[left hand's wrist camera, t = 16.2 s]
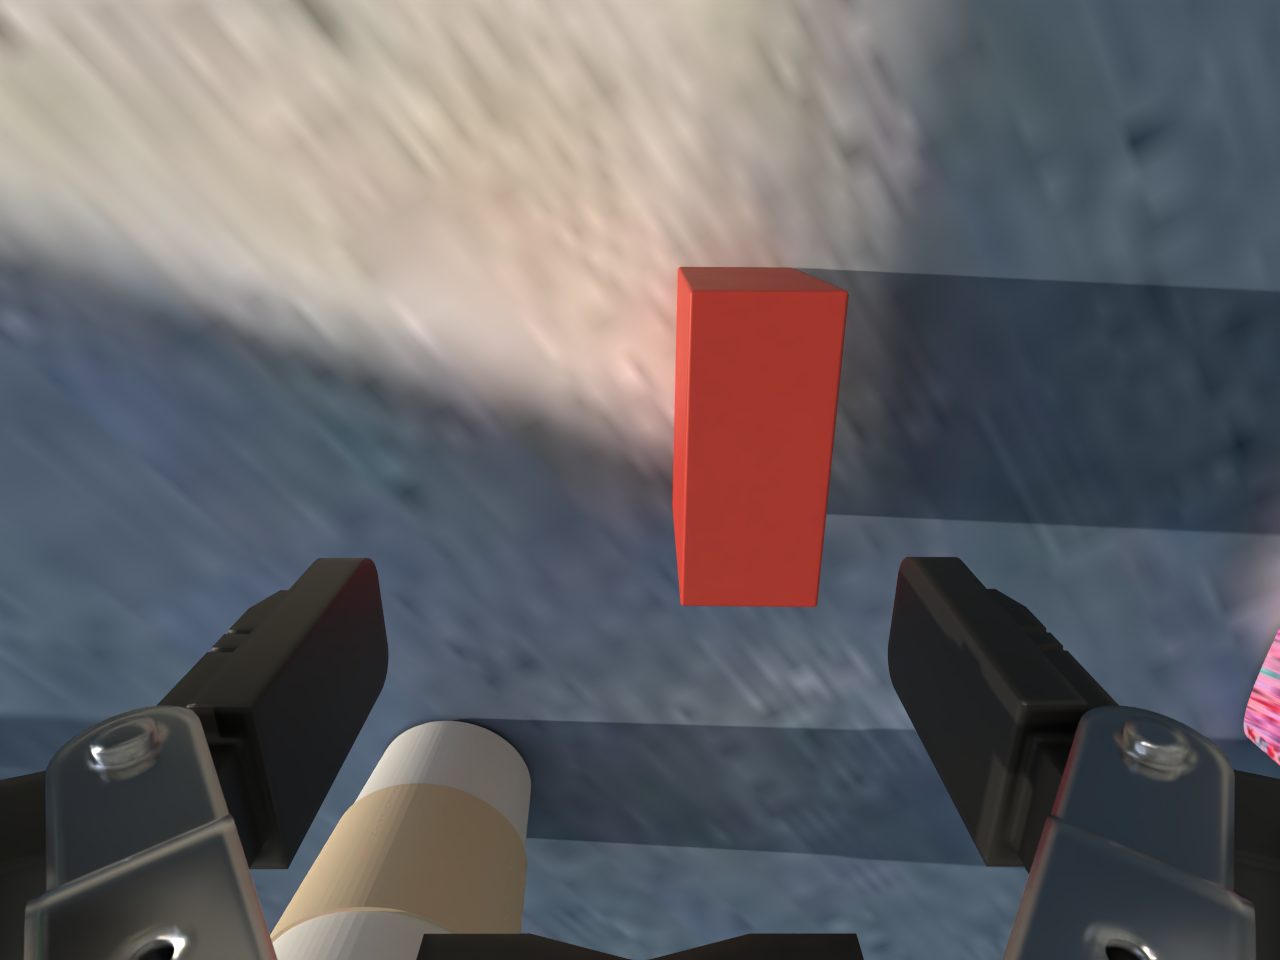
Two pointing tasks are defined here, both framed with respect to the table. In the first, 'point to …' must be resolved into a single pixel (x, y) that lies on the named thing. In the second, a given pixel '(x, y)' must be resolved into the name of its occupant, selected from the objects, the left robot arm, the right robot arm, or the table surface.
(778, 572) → the brick
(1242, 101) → the table surface
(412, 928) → the coffee cup
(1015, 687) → the left robot arm
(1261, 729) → the headband
